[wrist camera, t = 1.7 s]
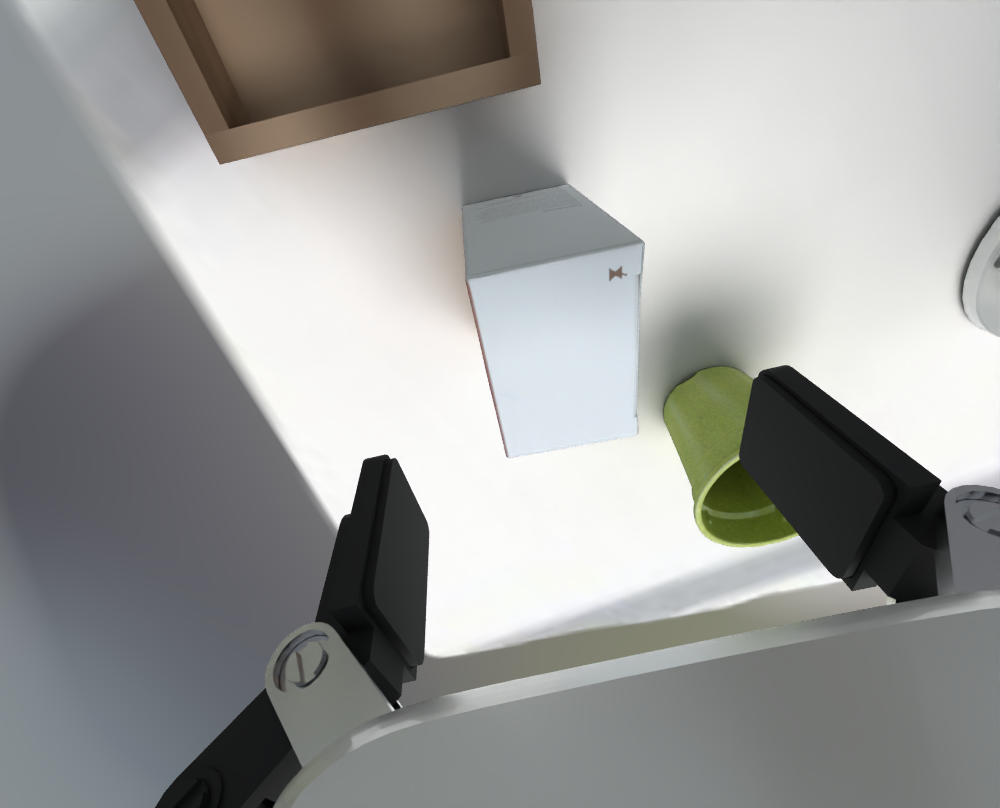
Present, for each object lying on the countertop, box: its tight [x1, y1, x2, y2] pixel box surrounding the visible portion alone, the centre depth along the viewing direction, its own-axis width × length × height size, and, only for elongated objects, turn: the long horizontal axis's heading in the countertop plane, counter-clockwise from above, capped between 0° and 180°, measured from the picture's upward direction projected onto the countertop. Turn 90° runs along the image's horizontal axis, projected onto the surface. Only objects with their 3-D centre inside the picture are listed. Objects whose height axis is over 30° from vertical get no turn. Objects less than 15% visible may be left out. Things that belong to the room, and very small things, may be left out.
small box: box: [462, 184, 645, 458], centre depth 19 cm, size 8×6×10 cm
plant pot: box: [663, 366, 798, 547], centre depth 26 cm, size 9×9×9 cm
